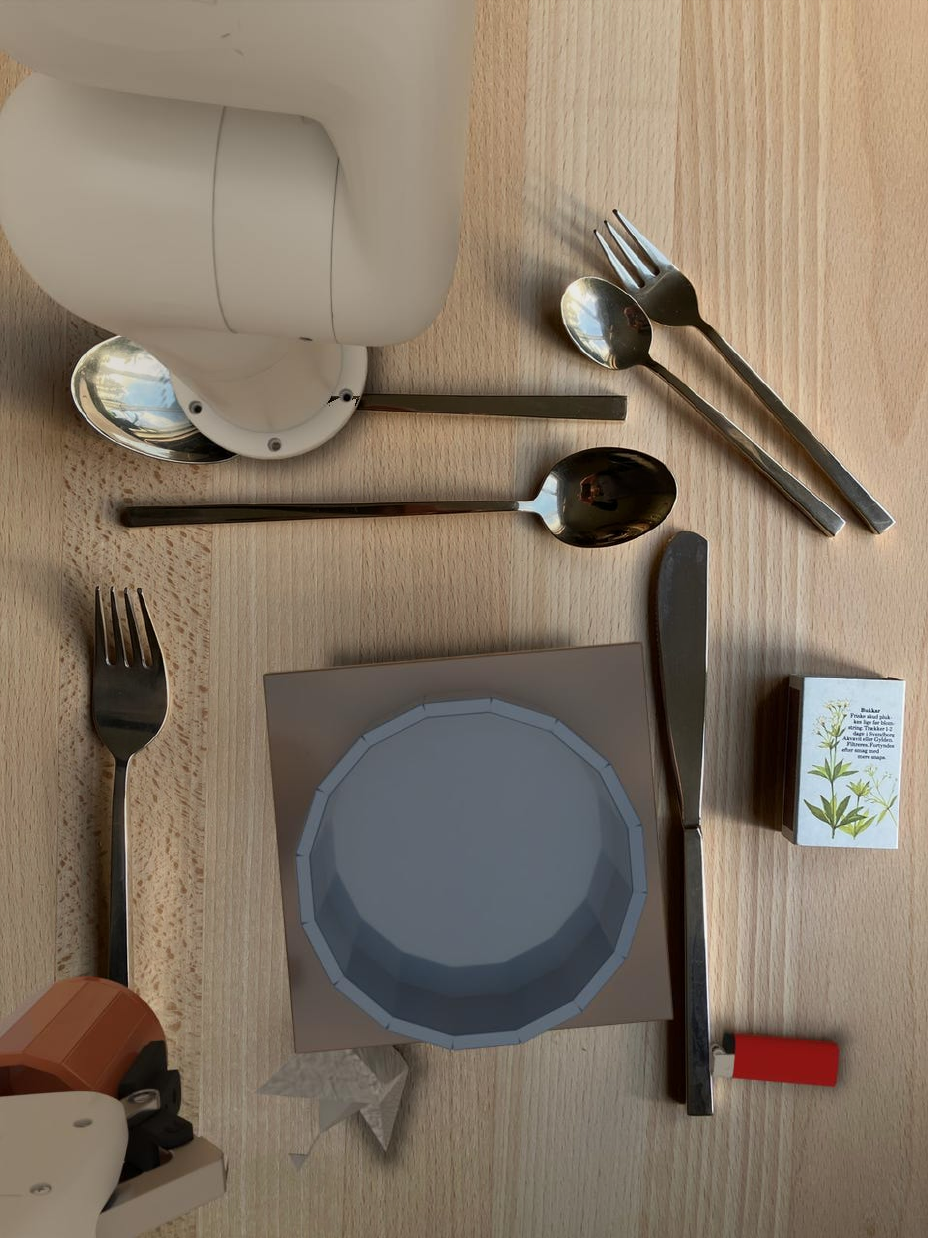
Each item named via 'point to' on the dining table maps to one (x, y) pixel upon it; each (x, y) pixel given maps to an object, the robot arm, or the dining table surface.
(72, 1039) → the cup
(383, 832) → the bowl
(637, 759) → the stand
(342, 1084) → the grey origami bird
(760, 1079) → the lighter
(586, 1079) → the dining table surface
